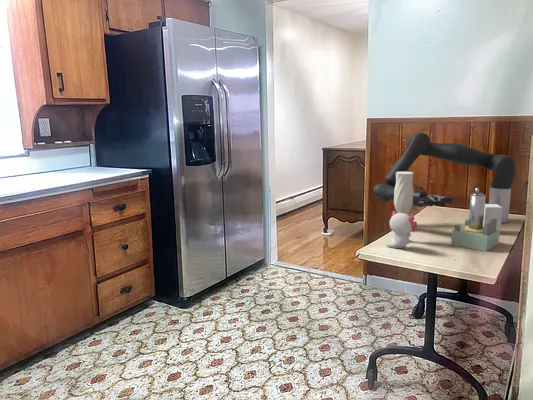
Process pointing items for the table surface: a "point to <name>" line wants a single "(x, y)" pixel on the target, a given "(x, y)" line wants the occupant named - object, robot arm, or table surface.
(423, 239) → the table surface
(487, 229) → the green and yellow block
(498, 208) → the supplement box
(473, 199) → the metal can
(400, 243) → the toy
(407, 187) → the vase
